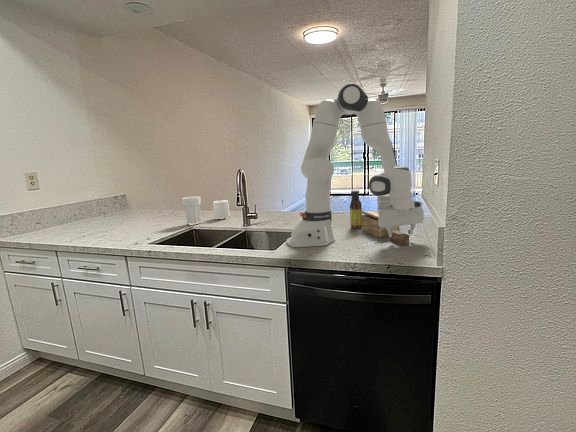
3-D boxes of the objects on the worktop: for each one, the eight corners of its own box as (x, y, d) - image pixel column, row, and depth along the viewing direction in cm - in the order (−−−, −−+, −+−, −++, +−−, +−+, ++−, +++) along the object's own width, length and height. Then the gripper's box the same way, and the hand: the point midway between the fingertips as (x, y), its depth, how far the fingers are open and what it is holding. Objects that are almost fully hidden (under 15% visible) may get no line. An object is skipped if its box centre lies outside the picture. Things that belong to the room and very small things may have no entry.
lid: (377, 219, 151) (377, 217, 151) (362, 213, 167) (362, 211, 167) (399, 217, 153) (399, 215, 153) (382, 212, 169) (382, 210, 169)
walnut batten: (402, 246, 138) (402, 236, 137) (390, 240, 147) (390, 230, 146) (409, 245, 138) (409, 235, 137) (396, 239, 148) (396, 230, 147)
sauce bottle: (355, 225, 180) (354, 189, 176) (364, 227, 175) (364, 190, 171) (347, 227, 175) (346, 191, 172) (357, 229, 171) (356, 191, 167)
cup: (181, 225, 209) (178, 198, 206) (194, 221, 219) (191, 196, 216) (193, 226, 203) (190, 198, 200) (207, 222, 213) (204, 196, 210)
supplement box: (396, 227, 170) (396, 195, 166) (378, 227, 172) (378, 195, 168) (394, 223, 179) (394, 192, 176) (377, 223, 181) (377, 193, 178)
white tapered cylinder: (214, 218, 228) (212, 200, 226) (229, 216, 230) (227, 199, 228) (214, 220, 218) (212, 202, 216) (230, 219, 221) (228, 201, 218)
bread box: (377, 237, 153) (377, 220, 151) (362, 229, 169) (362, 214, 167) (399, 234, 155) (399, 218, 153) (382, 227, 171) (382, 212, 169)
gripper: (382, 207, 135) (383, 240, 137) (426, 202, 139) (425, 233, 142) (374, 205, 141) (375, 236, 143) (416, 200, 145) (417, 230, 148)
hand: (401, 235), depth 142 cm, fingers open, 8 cm apart
